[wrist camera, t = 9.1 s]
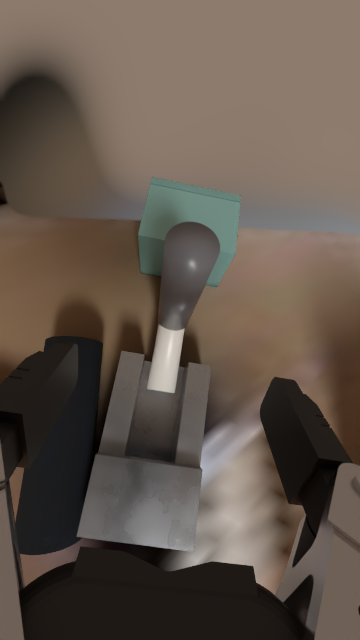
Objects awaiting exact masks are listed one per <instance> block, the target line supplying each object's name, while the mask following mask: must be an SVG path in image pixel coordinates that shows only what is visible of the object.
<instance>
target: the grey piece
mask: <svg viewBox="0 0 360 640" xmlns="http://www.w3.org/2000/svg"><path fill="white" fill-rule="evenodd" d="M219 253H220V243H219V240H218V238H217V236H216V234H215V233H214V232H213V231H212V230H211V229H210V228H209V227H207V226H205V225H203V224H201V223H197V222H182V223H179V224H177V225H175V226H173V227H172V228H171V229H170V230H169V231H168V233H167V234H166V237H165V241H164V252H163V264H162V276H161V287H160V299H159V311H158V331H157V336H156V341H155V347H154V352H153V357H152V363H151V368H150V373H149V379H148V384H147V389H149V390H153V391H159V392H165V393H175V388H176V382H177V375H178V368H179V362H180V355H181V349H182V342H183V336H184V330H185V328H186V326H187V324H188V321H189V319H190V317H191V315H192V313H193V310H194V308H195V306H196V304H197V302H198V300H199V297H200V295H201V293H202V291H203V289H204V287H205V284H206V282H207V280H208V278H209V276H210V274H211V271H212V269H213V267H214V265H215V263H216V261H217V258H218V256H219Z"/></svg>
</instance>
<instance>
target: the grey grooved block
mask: <svg viewBox="0 0 360 640" xmlns="http://www.w3.org/2000/svg"><path fill="white" fill-rule="evenodd" d="M151 363H152V362H150V361H145V356H144V354H138V353H132V352H126V351H121V356H120V360H119V364H118V369H117V373H116V377H115V382H114V386H113V391H112V395H111V399H110V404H109V408H108V412H107V417H106V421H105V425H104V430H103V434H102V438H101V443H100V447H99V451H98V453H96V455H95V460H94V464H93V468H92V472H91V477H90V481H89V485H88V490H87V494H86V498H85V502H84V507H83V511H82V515H81V520H80V524H79V528H78V533H77V537H83V538H91V539H99V540H107V541H114V542H122V543H130V544H138V545H145V546H153V547H161V548H169V549H176V550H184V551H192V552H194V543H195V533H196V524H197V515H198V506H199V496H200V487H201V478H202V469H201V467H200V461H201V452H202V443H203V434H204V425H205V416H206V407H207V398H208V389H209V380H210V371H211V366H208V365H202V364H196V363H191V362H189V363H188V364H187V365H186V366H185V367H179V368H178V375H177V382H176V388H175V393H165V392H159V391H153V390H149V389H147V384H148V379H149V373H150V368H151Z"/></svg>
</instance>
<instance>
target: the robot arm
mask: <svg viewBox="0 0 360 640" xmlns="http://www.w3.org/2000/svg"><path fill="white" fill-rule="evenodd" d="M77 379H78V345H77V344H74V343H68V342H62V341H55V342H54V343H53V344H52V346H51V347H50V348H49V349H48V350H47V351H46V352H41V351H39V352H37V353H35V354H33V355H31V356H29V357H27V358H26V359H25V360H24V361H23V362H22V363H21V364H20V365H19V366H18V367H17V369H16V370H14V371H13V372H12V373H11V374H10V375H9V378H6V379H5V380H4V381H3V382H2V383H1V384H0V640H360V466H358V465H356V464H353V462H352V461H351V459H350V457H349V456H348V454H347V453H346V451H345V449H344V448H343V446H342V445H341V443H340V441H339V440H338V438H337V436H336V435H335V433H334V432H333V430H332V428H330V427H329V426H330V425H329V424H328V422H327V420H326V419H325V418H324V416H323V414H322V412H321V411H320V409H319V408H318V406H317V405H316V404H315V403H314V402H313V401H312V400H311V399H310V398H309V397H308V396H307V395H306V394H303V393H302V391H301V389H300V388H299V386H298V384H297V383H296V381H294V380H291V379H284V378H278V377H275V378H273V379H272V381H271V383H270V386H269V388H268V390H267V393H266V395H265V397H264V399H263V402H262V404H261V408H260V418H261V422H262V425H263V428H264V431H265V434H266V437H267V440H268V443H269V446H270V449H271V452H272V455H273V458H274V461H275V464H276V467H277V470H278V473H279V476H280V479H281V482H282V485H283V488H284V491H285V494H286V497H287V500H288V503H289V504H294V505H302V506H303V508H304V510H305V514H304V515H303V517H302V519H301V522H300V526H299V529H298V532H297V536H296V539H295V542H294V546H293V549H292V552H291V556H290V559H289V562H288V566H287V569H286V572H285V574H284V577H283V579H282V581H281V583H280V585H279V587H278V589H277V591H276V593H275V595H274V594H273V593H271V592H270V591H269V590H267V589H266V588H264V587H263V586H261V585H260V584H258V583H256V580H255V574H254V569H253V566H247V565H238V564H229V563H220V562H208V563H204V564H200V565H196V566H192V567H188V568H184V569H180V570H176V571H171V572H168V571H164V570H162V569H160V568H158V567H156V566H153V565H151V564H149V563H147V562H145V561H143V560H141V559H139V558H137V557H135V556H133V555H131V554H128V553H126V552H124V551H116V550H107V549H98V548H89V547H80V550H79V554H78V557H77V560H76V561H75V562H71V563H67V564H64V565H62V566H59V567H56V568H54V569H52V570H50V571H48V572H47V573H45V574H43V575H41V576H40V577H38V578H37V579H35V580H34V581H32V582H31V583H30V584H28V585H27V586H26V587H25V585H24V578H23V571H22V565H21V559H20V553H19V546H18V540H17V533H16V526H15V519H14V511H13V504H12V497H11V490H10V483H9V478H10V477H11V475H12V473H13V472H14V470H15V469H16V467H23V468H30V466H31V465H32V463H33V461H34V459H35V458H36V456H37V454H38V452H39V451H40V449H41V447H42V445H43V444H44V442H45V440H46V438H47V437H48V435H49V433H50V431H51V429H52V428H53V426H54V424H55V422H56V421H57V419H58V417H59V415H60V414H61V412H62V410H63V408H64V407H65V405H66V403H67V401H68V400H69V398H70V396H71V394H72V393H73V391H74V389H75V386H76V383H77Z"/></svg>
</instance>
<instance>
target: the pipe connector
mask: <svg viewBox="0 0 360 640" xmlns="http://www.w3.org/2000/svg"><path fill="white" fill-rule="evenodd" d="M55 341H62V342H68V343H74V344H77V345H78V379H77V383H76V386H75V389H74V391H73V393H72V394H71V396H70V398H69V400H68V401H67V403H66V405H65V407H64V408H63V410H62V412H61V414H60V415H59V417H58V419H57V421H56V422H55V424H54V426H53V428H52V429H51V431H50V433H49V435H48V437H47V438H46V440H45V442H44V444H43V445H42V447H41V449H40V451H39V452H38V454H37V456H36V458H35V459H34V461H33V463H32V465H31V466H30V468H24V474H23V480H22V486H21V492H20V498H19V504H18V510H17V516H16V522H15V526H16V533H17V540H18V546H19V553H20V554H25V555H40V554H47V553H52V552H56V551H59V550H62V549H65V548H67V547H69V546H71V545H73V544H75V543H76V542H78V541H79V540H80V539H81V538H82V537H77V533H78V528H79V524H80V520H81V515H82V511H83V507H84V502H85V498H86V494H87V490H88V485H89V481H90V477H91V467H92V456H93V445H94V434H95V424H96V413H97V402H98V391H99V380H100V369H101V359H102V348H103V344H102V343H101V342H99V341H97V340H93V339H88V338H82V337H71V336H58V337H50V338H47V339H46V340H45V346H44V352H46V351H47V350H48V349H49V348H50V347H51V346H52V344H53V343H54V342H55Z"/></svg>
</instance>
